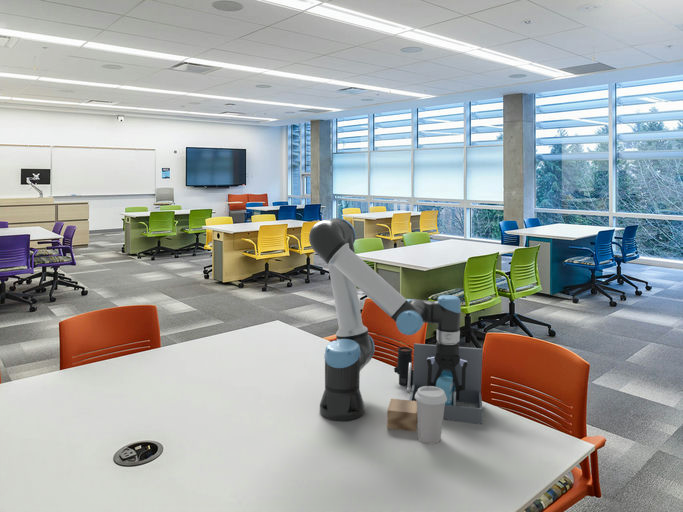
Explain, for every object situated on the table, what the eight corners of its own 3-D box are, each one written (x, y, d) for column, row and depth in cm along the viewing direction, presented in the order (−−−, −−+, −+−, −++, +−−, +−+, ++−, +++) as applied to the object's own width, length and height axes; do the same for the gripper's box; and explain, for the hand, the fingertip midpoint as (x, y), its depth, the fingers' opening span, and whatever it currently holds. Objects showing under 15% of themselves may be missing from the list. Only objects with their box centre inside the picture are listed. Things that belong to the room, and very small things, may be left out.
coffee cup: (447, 433, 156) (449, 387, 154) (443, 448, 147) (445, 399, 145) (416, 428, 159) (418, 383, 157) (410, 443, 150) (412, 395, 148)
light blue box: (448, 418, 166) (449, 383, 164) (434, 415, 168) (435, 381, 166) (455, 404, 177) (456, 371, 175) (442, 401, 179) (443, 369, 177)
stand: (387, 428, 159) (387, 410, 158) (390, 415, 168) (391, 398, 167) (415, 431, 157) (416, 413, 156) (418, 418, 166) (418, 401, 165)
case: (403, 415, 168) (404, 357, 165) (408, 396, 183) (409, 343, 180) (482, 424, 162) (484, 364, 159) (480, 403, 177) (482, 348, 175)
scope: (420, 353, 188) (393, 351, 190) (419, 389, 189) (392, 386, 192) (421, 347, 195) (396, 345, 198) (420, 381, 197) (395, 378, 200)
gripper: (419, 343, 167) (417, 409, 171) (476, 347, 163) (473, 415, 167) (421, 336, 175) (419, 400, 178) (475, 340, 171) (472, 405, 174)
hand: (445, 407), depth 172 cm, fingers closed on light blue box, 5 cm apart
